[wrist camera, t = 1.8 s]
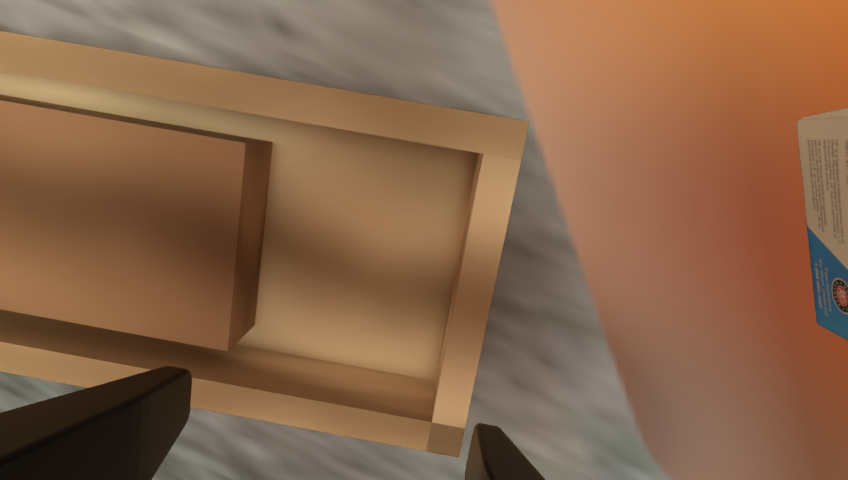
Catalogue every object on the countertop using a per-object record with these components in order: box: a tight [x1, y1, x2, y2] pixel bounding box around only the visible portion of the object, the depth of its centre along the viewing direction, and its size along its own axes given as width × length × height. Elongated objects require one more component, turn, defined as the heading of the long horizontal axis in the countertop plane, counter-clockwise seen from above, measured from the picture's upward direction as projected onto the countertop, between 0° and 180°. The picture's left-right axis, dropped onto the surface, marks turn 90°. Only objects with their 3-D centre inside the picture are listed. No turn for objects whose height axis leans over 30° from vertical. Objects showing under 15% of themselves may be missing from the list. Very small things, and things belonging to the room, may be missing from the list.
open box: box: [0, 31, 529, 457], centre depth 19 cm, size 12×22×4 cm, turn 80°
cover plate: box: [0, 94, 273, 351], centre depth 18 cm, size 8×12×2 cm, turn 80°
